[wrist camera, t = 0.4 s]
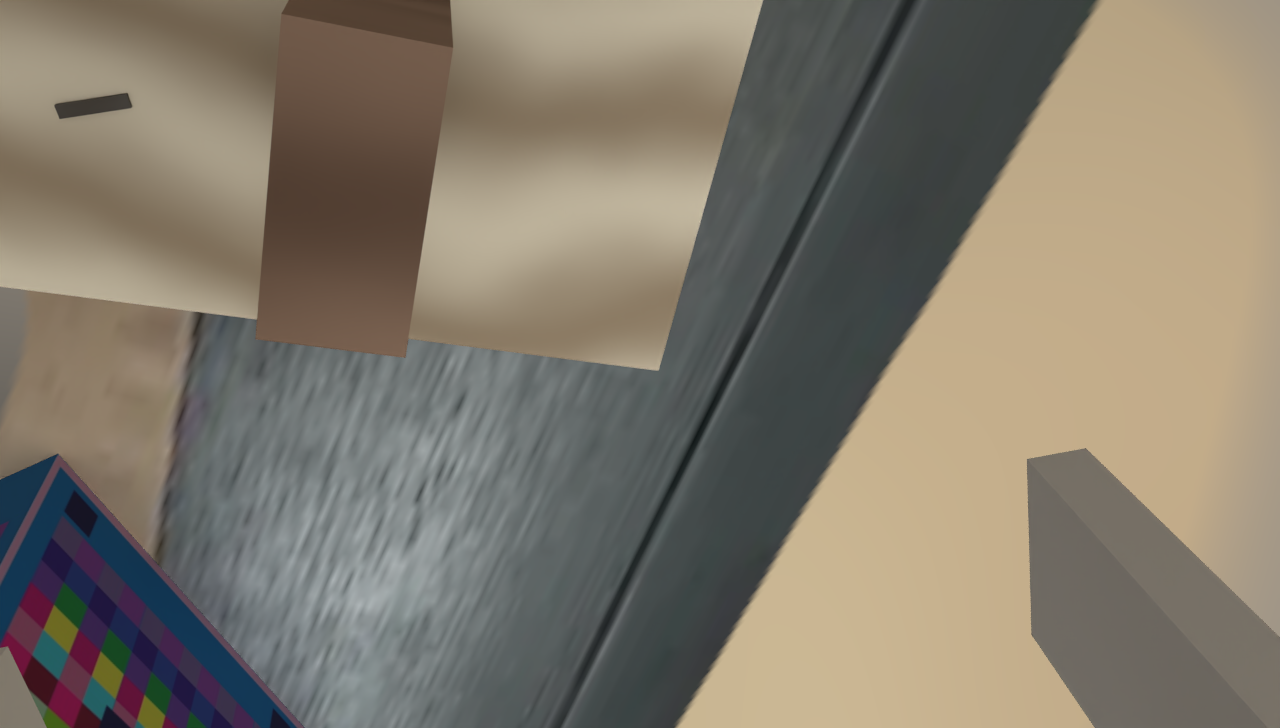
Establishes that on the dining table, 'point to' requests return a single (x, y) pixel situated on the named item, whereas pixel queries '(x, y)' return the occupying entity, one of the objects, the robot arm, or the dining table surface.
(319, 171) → the peg
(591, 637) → the dining table surface
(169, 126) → the tuner board
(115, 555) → the box
